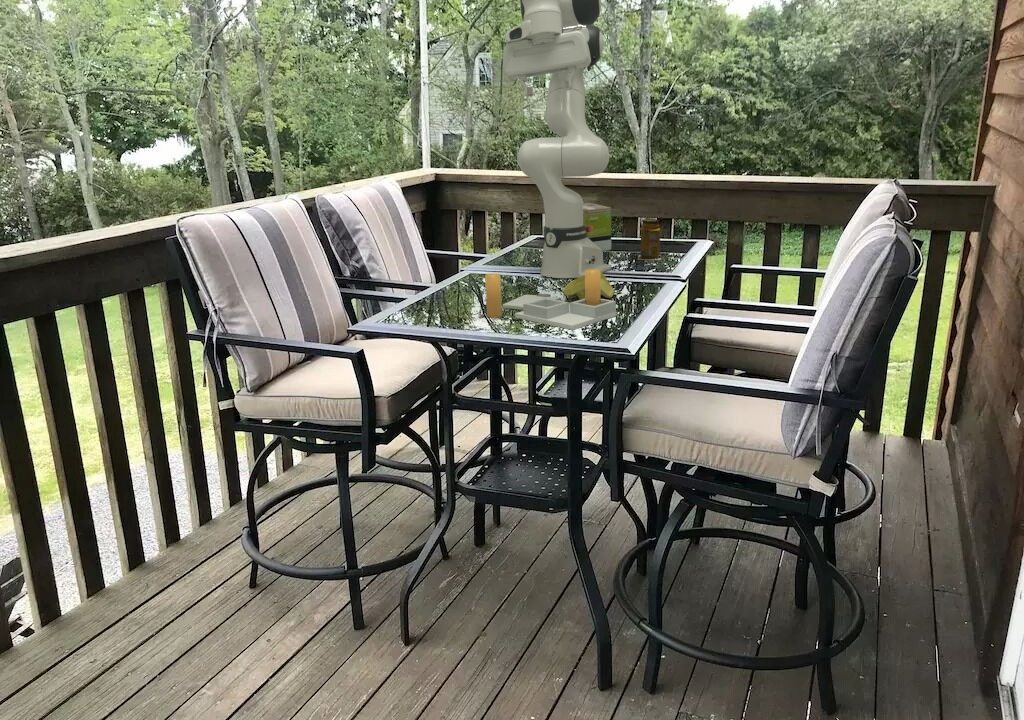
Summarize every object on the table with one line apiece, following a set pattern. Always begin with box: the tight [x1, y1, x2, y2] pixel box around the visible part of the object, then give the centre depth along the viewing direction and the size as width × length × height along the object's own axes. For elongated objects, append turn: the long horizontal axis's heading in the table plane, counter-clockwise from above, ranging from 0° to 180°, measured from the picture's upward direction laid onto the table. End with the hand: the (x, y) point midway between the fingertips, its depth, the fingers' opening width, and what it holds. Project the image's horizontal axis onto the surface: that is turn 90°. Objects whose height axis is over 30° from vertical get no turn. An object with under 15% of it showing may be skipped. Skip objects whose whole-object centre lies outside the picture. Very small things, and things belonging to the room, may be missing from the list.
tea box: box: [583, 202, 612, 252], centre depth 278 cm, size 15×10×15 cm
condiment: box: [637, 218, 662, 261], centre depth 258 cm, size 7×8×12 cm
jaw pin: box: [484, 272, 503, 319], centre depth 195 cm, size 4×4×10 cm
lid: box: [502, 293, 561, 311], centre depth 206 cm, size 14×10×1 cm
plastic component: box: [562, 272, 615, 300], centre depth 209 cm, size 20×7×10 cm
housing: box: [514, 269, 618, 331], centre depth 191 cm, size 16×18×11 cm
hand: (549, 92), depth 188 cm, fingers open, 8 cm apart
